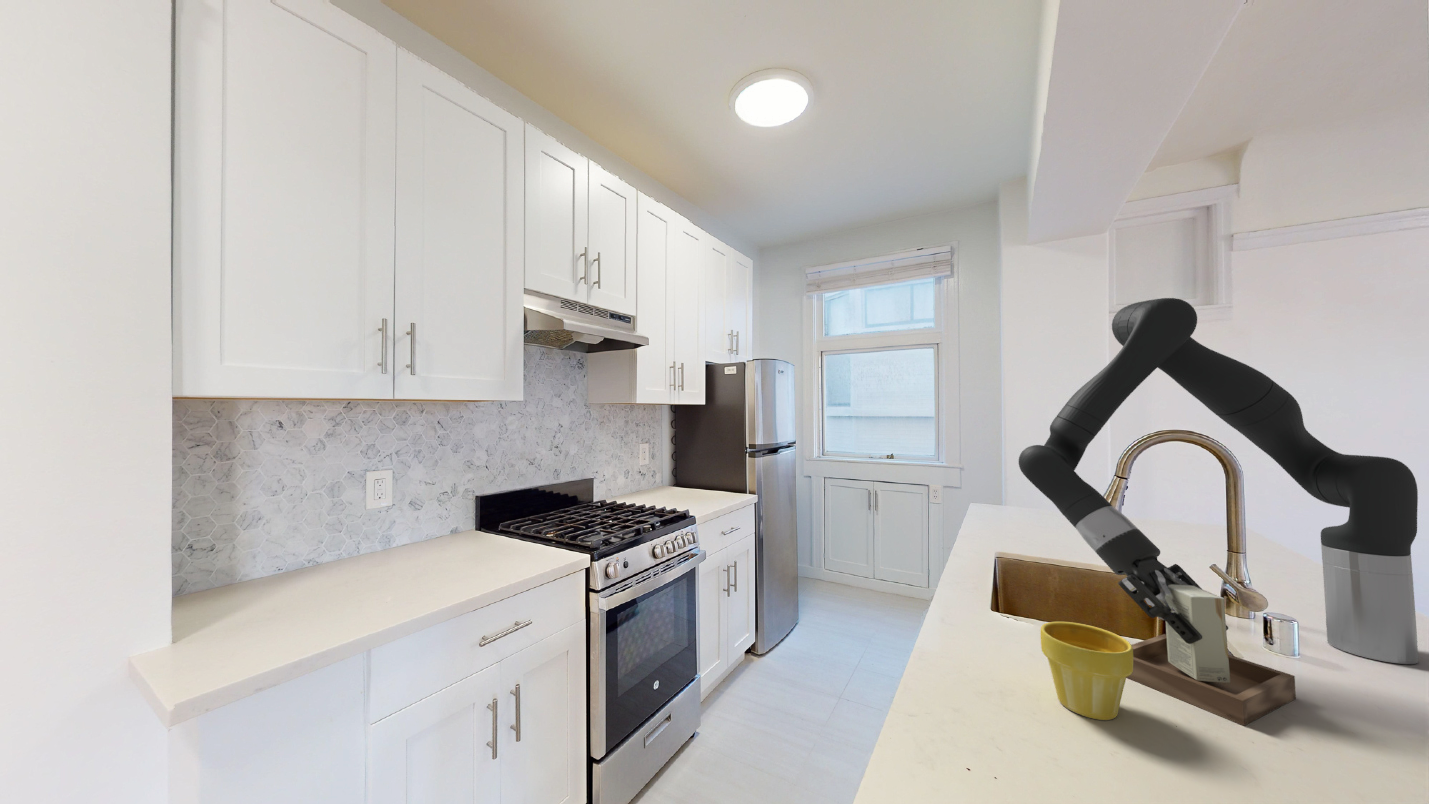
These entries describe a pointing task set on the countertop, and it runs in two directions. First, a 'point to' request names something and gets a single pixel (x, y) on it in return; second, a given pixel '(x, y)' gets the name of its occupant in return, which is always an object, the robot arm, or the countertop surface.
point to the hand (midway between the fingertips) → (1209, 636)
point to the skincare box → (1209, 620)
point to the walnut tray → (1214, 684)
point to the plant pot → (1087, 667)
